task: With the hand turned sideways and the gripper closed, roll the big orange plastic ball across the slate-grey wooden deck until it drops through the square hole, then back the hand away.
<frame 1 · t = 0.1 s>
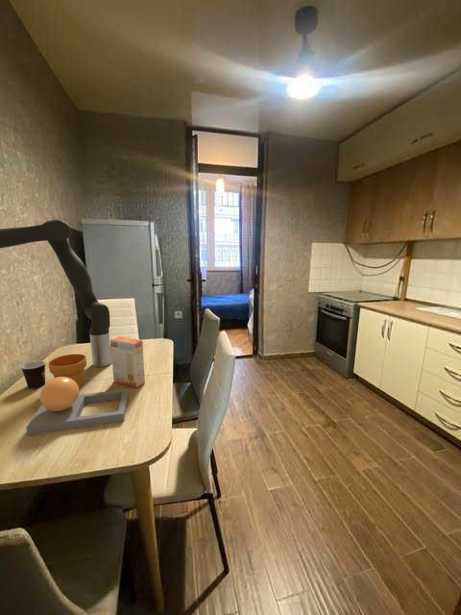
flower pot: (71, 387, 121), on the table
coffee mug: (39, 384, 124), on the table
cracker box: (129, 382, 126), on the table
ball: (60, 393, 98), point 9 cm above the table, touching deck
deck: (101, 410, 104), on the table
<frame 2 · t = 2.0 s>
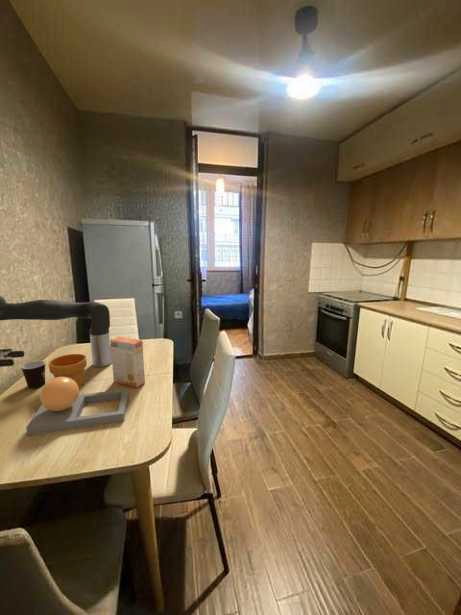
hand: (18, 357, 92), 24 cm above the table, tool horizontal, fingers open, 7 cm apart
nothing on the table moved.
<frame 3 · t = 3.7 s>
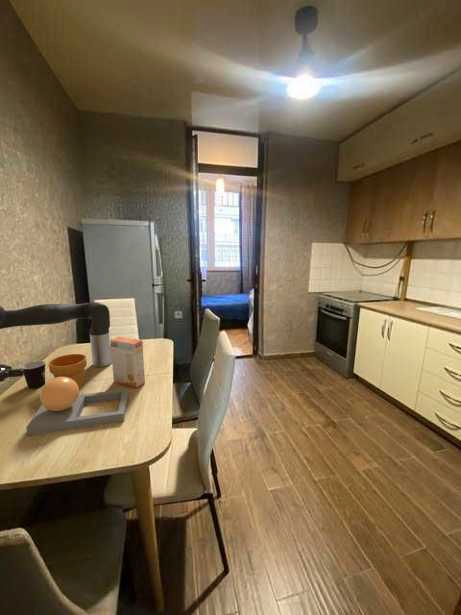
hand: (23, 372, 94), 19 cm above the table, tool horizontal, fingers closed
nothing on the table moved.
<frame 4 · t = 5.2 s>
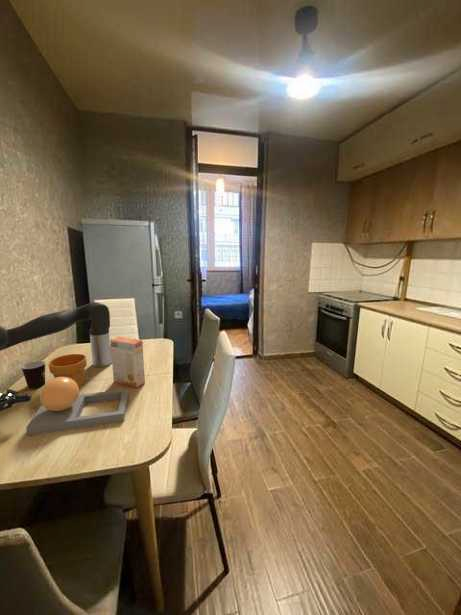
hand: (30, 397, 96), 9 cm above the table, tool horizontal, fingers closed
nothing on the table moved.
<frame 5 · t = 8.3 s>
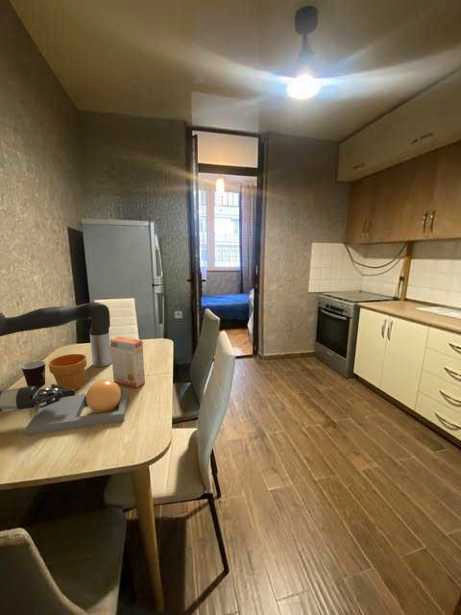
hand: (74, 392, 100), 9 cm above the table, tool horizontal, fingers closed
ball: (104, 396, 103), point 6 cm above the table, tilted 148°
everything else where it was.
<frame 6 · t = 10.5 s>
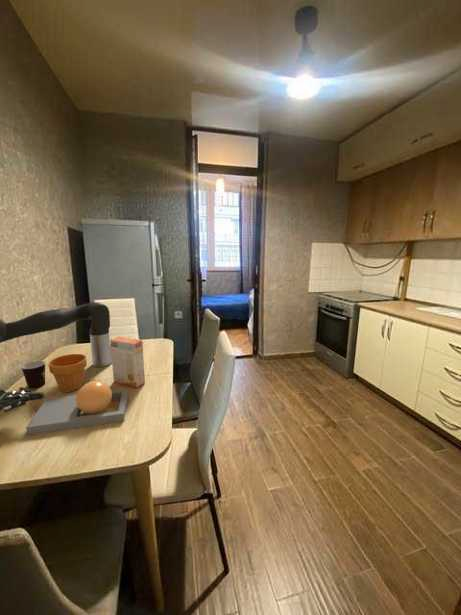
hand: (42, 395, 97), 9 cm above the table, tool horizontal, fingers closed
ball: (94, 397, 102), point 6 cm above the table, tilted 117°
everything else where it was.
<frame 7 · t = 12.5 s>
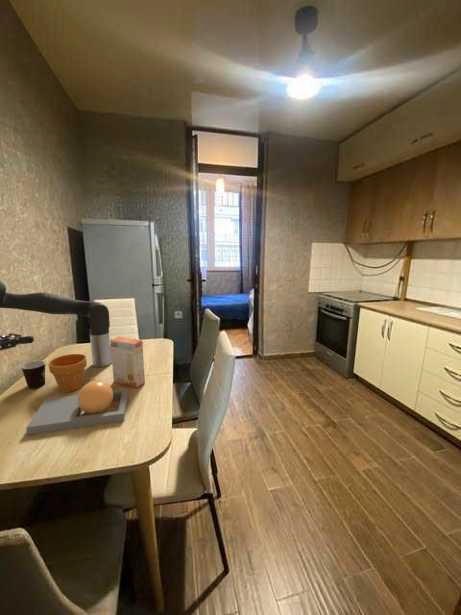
hand: (33, 339, 97), 29 cm above the table, tool horizontal, fingers closed
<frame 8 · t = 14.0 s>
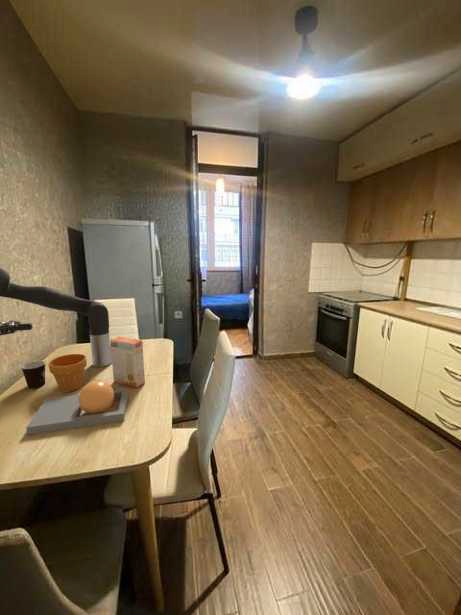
hand: (31, 326, 101), 32 cm above the table, tool horizontal, fingers closed
at the end: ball 1.0 cm off-centre on the deck, point 6.0 cm above the deck's base; flower pot moved 0.2 cm from its start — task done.
